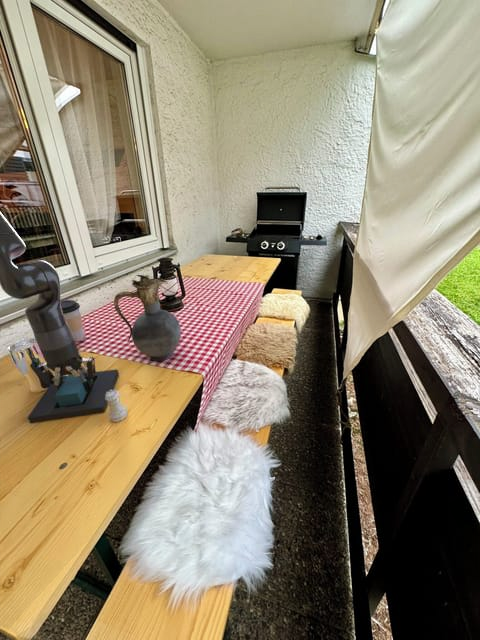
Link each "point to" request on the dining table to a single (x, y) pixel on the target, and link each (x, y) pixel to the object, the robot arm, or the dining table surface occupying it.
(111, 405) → the rook chess piece
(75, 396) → the block
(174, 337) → the pitcher
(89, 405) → the dark grey rectangular frame
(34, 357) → the beer glass
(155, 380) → the dining table surface
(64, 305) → the coffee cup
